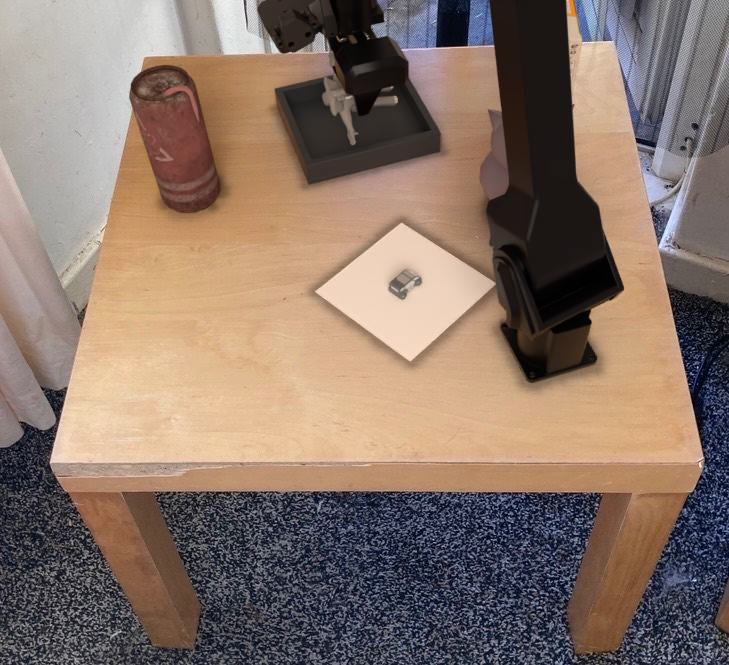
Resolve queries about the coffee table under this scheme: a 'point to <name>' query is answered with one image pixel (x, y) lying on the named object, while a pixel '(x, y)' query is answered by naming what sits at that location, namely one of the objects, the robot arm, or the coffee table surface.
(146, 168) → the coffee table surface
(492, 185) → the cat figurine
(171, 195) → the can
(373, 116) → the tray
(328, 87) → the elephant figurine
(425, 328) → the cream square coaster
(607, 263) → the robot arm
